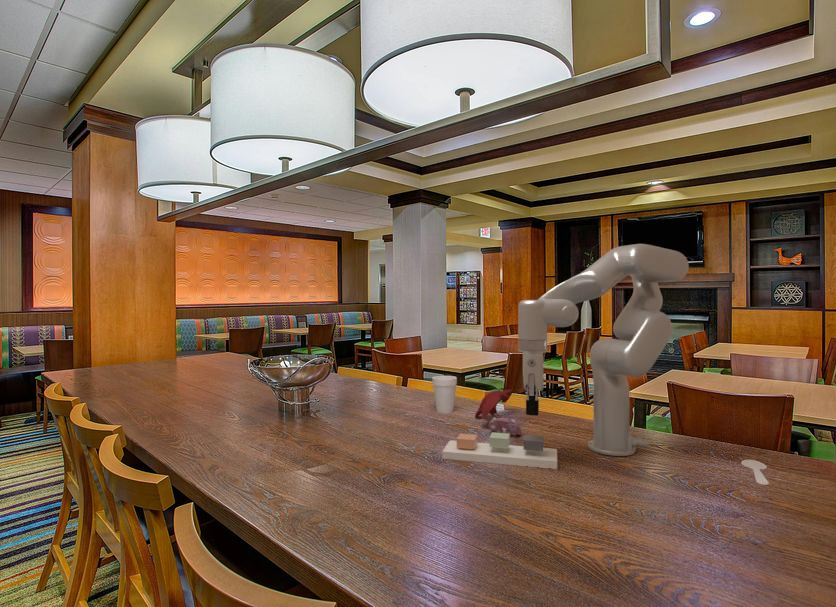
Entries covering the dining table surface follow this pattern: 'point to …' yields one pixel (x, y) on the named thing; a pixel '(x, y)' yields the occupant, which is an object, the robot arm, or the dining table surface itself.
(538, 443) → the charcoal key
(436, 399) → the foam cup
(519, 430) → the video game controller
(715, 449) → the dining table surface
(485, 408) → the decorative bird sculpture
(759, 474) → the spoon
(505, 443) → the sage key
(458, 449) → the keypad base
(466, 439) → the terracotta key
